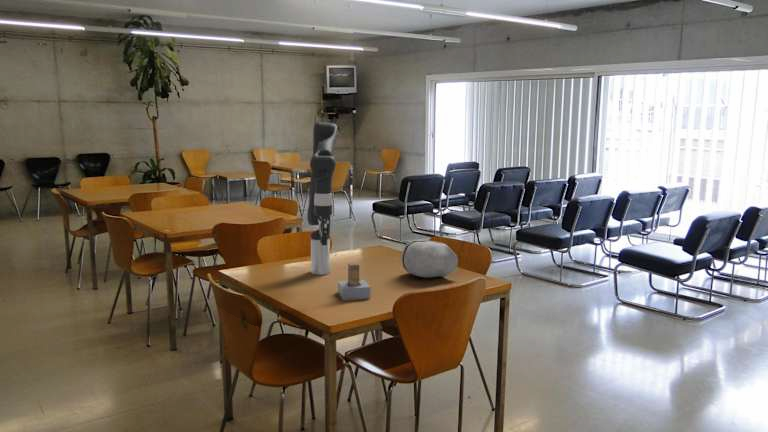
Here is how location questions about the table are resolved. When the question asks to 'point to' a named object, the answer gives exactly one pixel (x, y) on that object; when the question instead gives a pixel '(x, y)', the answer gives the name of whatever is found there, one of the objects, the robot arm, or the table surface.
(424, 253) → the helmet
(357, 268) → the peg
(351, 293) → the socket
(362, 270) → the table surface
